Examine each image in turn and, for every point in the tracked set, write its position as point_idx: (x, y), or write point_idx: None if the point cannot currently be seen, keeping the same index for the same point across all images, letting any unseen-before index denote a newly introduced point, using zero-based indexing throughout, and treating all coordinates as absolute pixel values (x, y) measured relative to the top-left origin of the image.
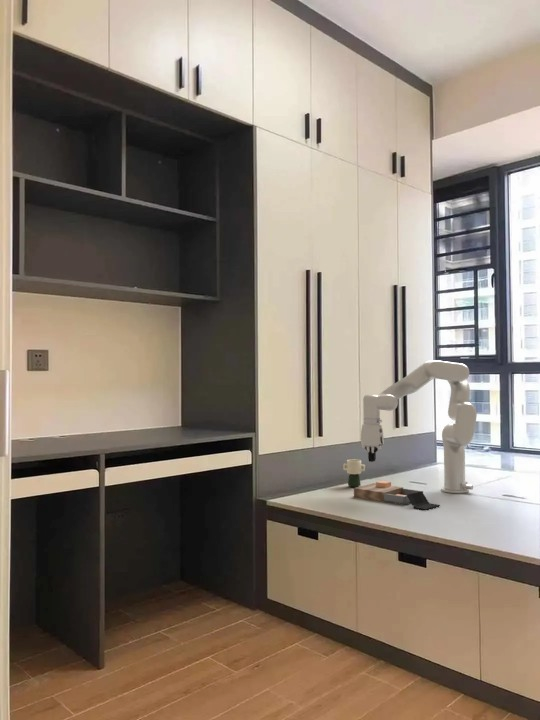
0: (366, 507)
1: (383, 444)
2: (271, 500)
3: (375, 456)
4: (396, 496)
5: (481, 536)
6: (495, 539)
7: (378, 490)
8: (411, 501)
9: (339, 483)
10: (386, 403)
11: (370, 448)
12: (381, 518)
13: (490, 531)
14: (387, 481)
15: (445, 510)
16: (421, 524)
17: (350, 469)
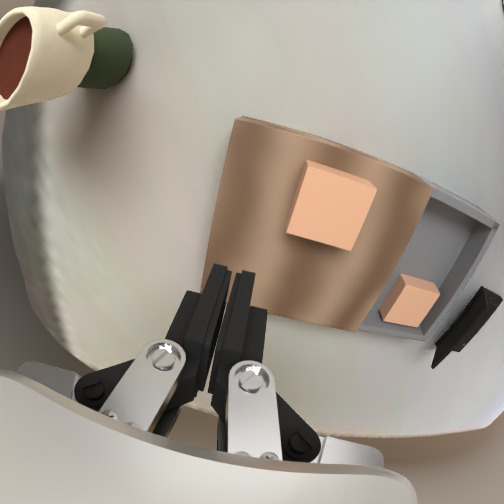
0: (308, 376)
1: (410, 490)
2: (78, 357)
3: (264, 334)
4: (400, 335)
5: (478, 412)
6: (486, 412)
7: (326, 306)
8: (437, 354)
9: None
10: None
11: (147, 399)
12: (357, 419)
13: (498, 394)
14: (352, 181)
15: (498, 325)
16: (423, 415)
17: (40, 101)
